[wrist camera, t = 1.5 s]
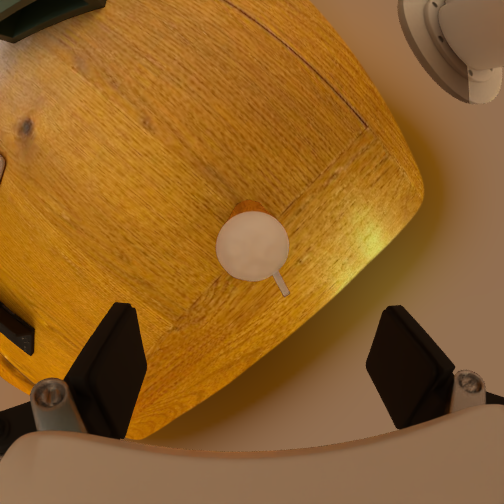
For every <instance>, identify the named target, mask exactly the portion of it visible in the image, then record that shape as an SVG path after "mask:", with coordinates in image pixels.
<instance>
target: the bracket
mask: <svg viewBox="0 0 504 504" xmlns="http://www.w3.org/2000/svg"><path fill="white" fill-rule="evenodd" d="M4 167H5V160H4V158H3V157H2V156H1V155H0V179H1V176H2V173H3V170H4Z"/></svg>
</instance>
